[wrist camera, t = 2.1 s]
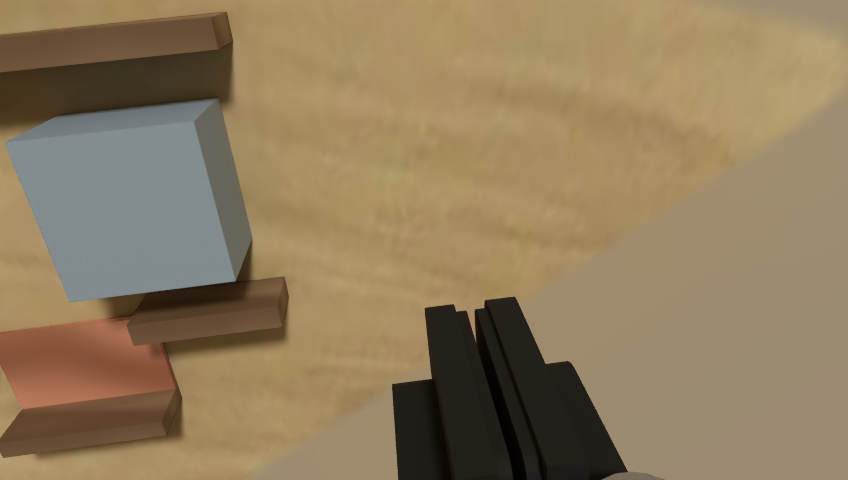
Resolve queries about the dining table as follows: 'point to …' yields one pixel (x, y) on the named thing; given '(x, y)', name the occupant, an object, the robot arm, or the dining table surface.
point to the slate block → (135, 198)
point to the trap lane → (157, 313)
